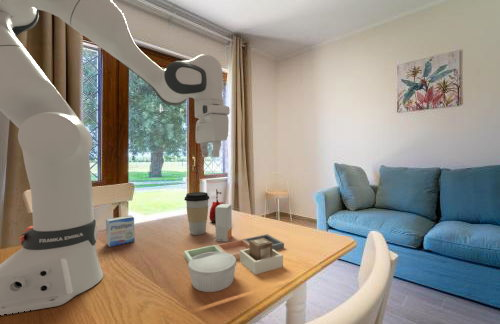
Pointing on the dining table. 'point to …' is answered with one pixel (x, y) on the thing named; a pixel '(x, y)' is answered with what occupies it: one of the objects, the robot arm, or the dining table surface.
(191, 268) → the ramekin
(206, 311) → the dining table surface
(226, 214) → the skincare box
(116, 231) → the medicine box
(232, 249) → the tray middle terracotta
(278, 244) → the tray far charcoal
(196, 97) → the robot arm
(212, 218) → the red clay folk toy
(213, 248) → the tray near sage
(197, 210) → the coffee cup
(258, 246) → the tan block
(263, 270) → the cream square open box
